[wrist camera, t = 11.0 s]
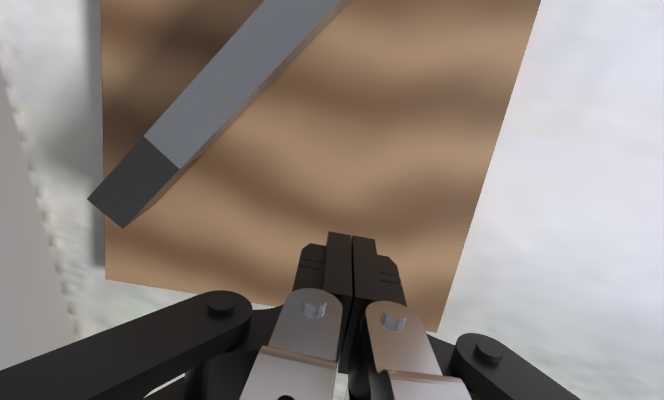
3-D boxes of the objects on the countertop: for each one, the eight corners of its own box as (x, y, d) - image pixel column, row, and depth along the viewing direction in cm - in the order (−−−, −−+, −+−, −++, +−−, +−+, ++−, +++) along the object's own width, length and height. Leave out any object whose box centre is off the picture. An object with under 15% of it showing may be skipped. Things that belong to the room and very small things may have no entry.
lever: (473, -224, 18) (519, -324, 14) (518, -155, 19) (576, -227, 14) (117, 172, 25) (65, 197, 20) (162, 211, 26) (121, 244, 21)
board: (113, -314, 19) (95, -345, 18) (594, -211, 20) (613, -232, 18) (116, 268, 29) (105, 279, 28) (432, 319, 30) (436, 332, 29)
